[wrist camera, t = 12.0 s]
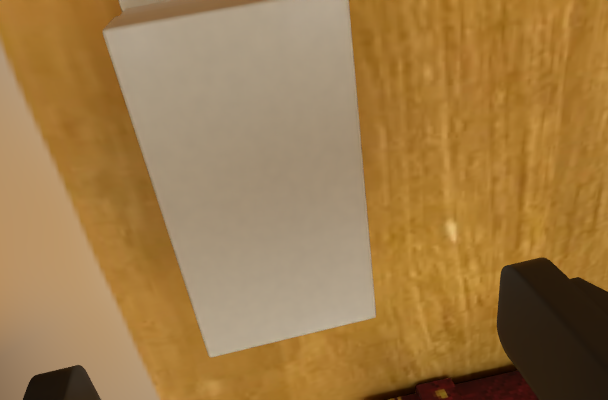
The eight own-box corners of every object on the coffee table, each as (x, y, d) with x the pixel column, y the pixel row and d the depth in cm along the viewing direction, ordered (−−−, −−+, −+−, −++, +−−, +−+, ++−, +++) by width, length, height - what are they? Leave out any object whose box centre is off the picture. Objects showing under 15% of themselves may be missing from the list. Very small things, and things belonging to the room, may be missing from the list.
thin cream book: (112, 16, 13) (100, 29, 12) (329, -22, 14) (348, -15, 12) (207, 319, 19) (209, 359, 17) (361, 283, 19) (376, 318, 18)
